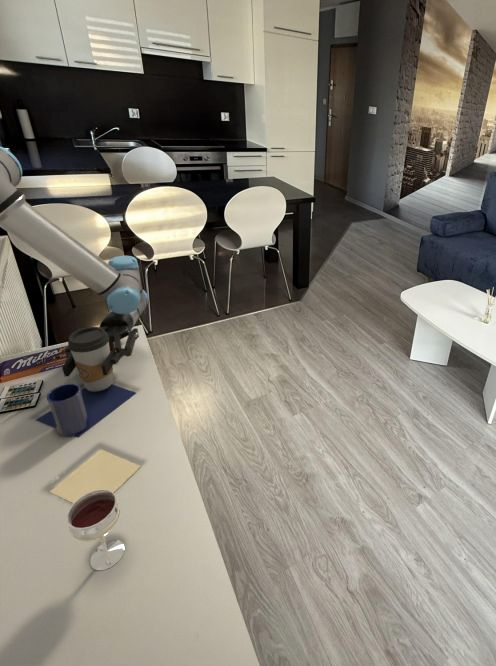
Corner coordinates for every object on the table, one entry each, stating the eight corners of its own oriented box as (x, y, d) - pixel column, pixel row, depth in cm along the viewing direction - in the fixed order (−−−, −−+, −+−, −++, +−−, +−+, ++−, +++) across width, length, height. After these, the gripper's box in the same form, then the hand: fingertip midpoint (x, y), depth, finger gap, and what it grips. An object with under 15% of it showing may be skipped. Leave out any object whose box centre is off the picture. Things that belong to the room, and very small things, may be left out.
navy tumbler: (52, 431, 88) (39, 397, 84) (77, 413, 93) (66, 380, 89) (72, 440, 87) (60, 405, 82) (96, 421, 92) (87, 387, 87)
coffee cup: (72, 389, 99) (57, 339, 92) (101, 370, 106) (89, 322, 100) (98, 398, 97) (84, 347, 90) (126, 378, 104) (115, 330, 97)
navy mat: (35, 420, 91) (35, 420, 91) (98, 379, 105) (97, 379, 105) (78, 438, 87) (78, 437, 87) (136, 393, 101) (136, 392, 101)
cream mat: (49, 492, 76) (49, 491, 76) (100, 449, 85) (100, 449, 85) (93, 513, 73) (93, 512, 73) (141, 466, 82) (140, 466, 82)
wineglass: (80, 583, 63) (62, 536, 57) (86, 543, 68) (69, 497, 63) (129, 565, 66) (115, 519, 60) (131, 528, 71) (118, 483, 66)
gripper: (159, 331, 117) (134, 381, 97) (83, 333, 113) (40, 385, 93) (156, 309, 114) (129, 357, 94) (77, 310, 110) (31, 359, 90)
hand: (84, 371), depth 94 cm, fingers closed on coffee cup, 8 cm apart
